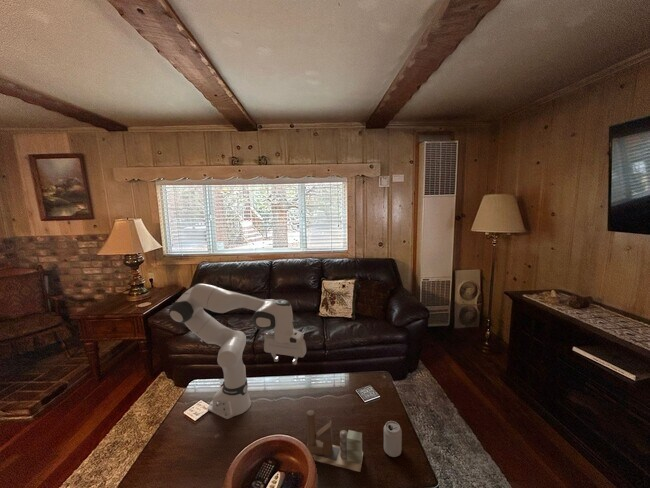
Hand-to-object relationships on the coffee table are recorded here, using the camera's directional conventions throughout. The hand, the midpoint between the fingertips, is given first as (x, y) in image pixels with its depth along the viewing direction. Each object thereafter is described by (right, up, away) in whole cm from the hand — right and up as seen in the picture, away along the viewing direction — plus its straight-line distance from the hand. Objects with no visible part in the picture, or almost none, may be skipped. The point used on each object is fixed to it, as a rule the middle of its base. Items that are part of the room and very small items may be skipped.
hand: (285, 362), depth 125 cm
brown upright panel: (+16, -34, -10) cm, 39 cm away
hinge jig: (+22, -35, -11) cm, 43 cm away
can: (+48, -35, -9) cm, 60 cm away
